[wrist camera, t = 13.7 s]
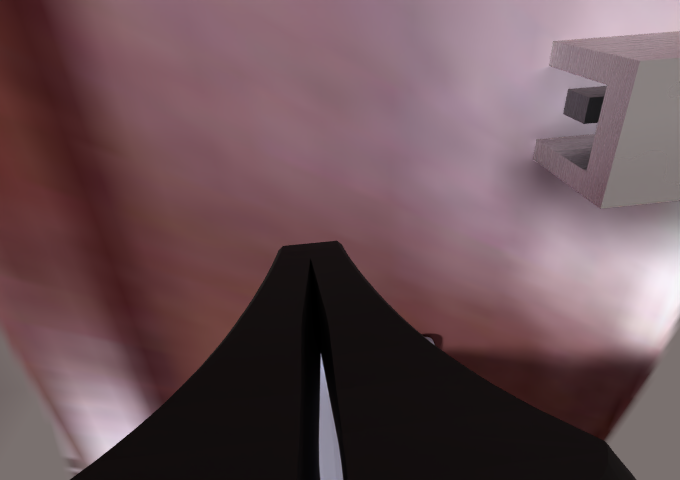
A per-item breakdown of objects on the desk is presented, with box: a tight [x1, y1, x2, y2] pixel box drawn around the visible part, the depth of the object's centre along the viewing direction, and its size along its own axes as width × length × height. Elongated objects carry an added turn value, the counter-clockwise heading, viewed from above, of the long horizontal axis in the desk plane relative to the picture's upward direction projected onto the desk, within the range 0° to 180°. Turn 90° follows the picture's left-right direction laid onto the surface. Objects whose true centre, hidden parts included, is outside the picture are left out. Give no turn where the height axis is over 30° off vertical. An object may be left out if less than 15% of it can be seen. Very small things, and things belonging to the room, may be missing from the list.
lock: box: [533, 31, 680, 209], centre depth 16 cm, size 8×5×5 cm, turn 93°
